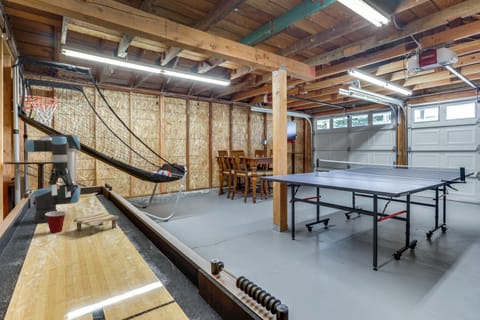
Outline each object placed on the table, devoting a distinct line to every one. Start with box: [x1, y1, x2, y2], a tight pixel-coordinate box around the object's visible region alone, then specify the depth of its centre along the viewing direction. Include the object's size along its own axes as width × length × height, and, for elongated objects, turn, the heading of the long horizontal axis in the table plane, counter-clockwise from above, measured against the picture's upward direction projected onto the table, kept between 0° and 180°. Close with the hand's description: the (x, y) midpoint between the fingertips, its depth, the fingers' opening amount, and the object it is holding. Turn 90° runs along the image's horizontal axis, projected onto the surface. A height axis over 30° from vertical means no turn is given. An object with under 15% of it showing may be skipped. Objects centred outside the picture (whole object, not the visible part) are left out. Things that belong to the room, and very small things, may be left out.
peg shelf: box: [73, 212, 119, 236], centre depth 159 cm, size 18×18×8 cm
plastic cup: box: [45, 210, 67, 234], centre depth 154 cm, size 11×11×12 cm
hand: (61, 196), depth 155 cm, fingers open, 13 cm apart
